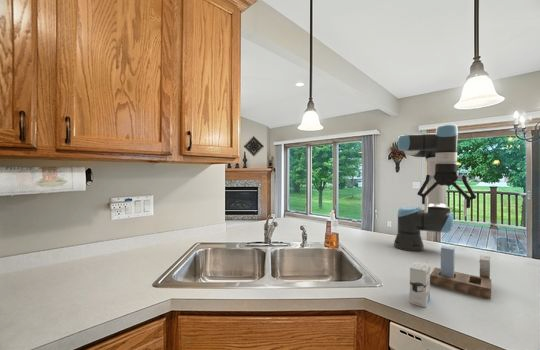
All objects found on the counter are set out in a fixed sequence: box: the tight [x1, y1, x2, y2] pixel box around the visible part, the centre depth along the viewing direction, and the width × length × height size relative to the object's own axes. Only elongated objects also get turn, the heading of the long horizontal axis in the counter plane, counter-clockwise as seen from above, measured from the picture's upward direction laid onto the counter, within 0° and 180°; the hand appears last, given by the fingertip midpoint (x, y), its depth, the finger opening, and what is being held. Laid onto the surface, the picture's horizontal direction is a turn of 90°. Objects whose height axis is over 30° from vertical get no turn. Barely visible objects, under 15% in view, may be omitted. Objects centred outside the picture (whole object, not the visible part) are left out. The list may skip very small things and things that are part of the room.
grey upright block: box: [479, 254, 491, 279], centre depth 103 cm, size 3×6×10 cm, turn 139°
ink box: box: [409, 261, 431, 308], centre depth 88 cm, size 8×5×12 cm, turn 141°
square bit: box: [440, 245, 456, 278], centre depth 102 cm, size 4×4×14 cm
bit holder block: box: [430, 267, 492, 300], centre depth 100 cm, size 18×11×4 cm, turn 49°
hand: (444, 214), depth 110 cm, fingers open, 13 cm apart
